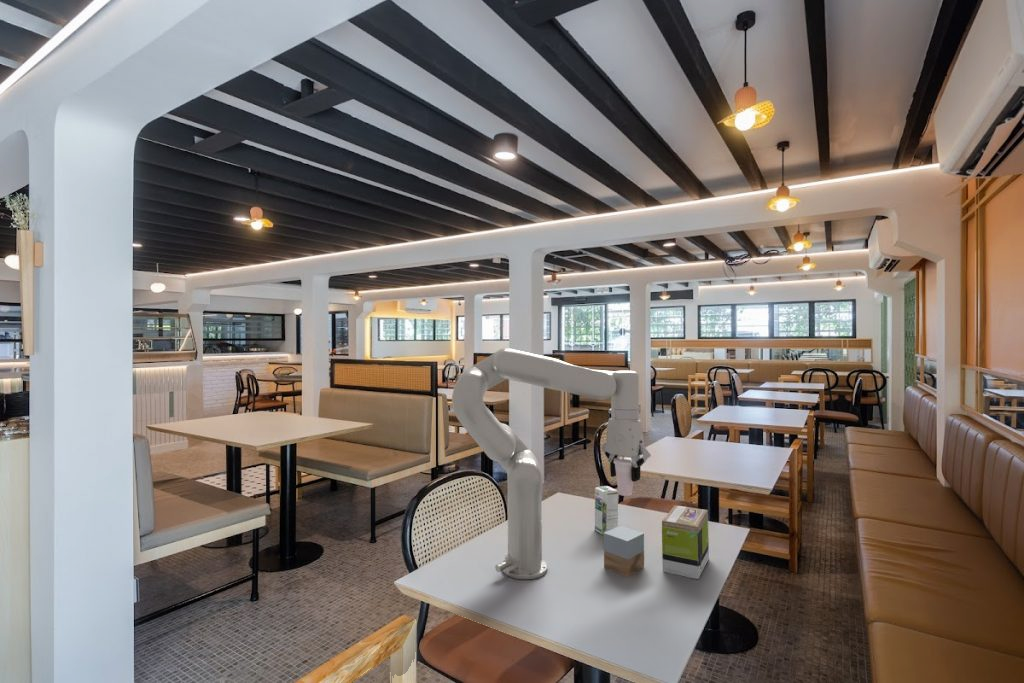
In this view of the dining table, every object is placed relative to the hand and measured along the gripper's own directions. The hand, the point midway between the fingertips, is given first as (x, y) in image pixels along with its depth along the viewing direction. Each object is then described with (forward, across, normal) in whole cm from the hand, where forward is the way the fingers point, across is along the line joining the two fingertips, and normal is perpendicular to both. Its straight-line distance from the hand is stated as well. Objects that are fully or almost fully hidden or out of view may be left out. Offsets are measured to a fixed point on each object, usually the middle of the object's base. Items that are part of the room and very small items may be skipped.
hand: (625, 477), depth 147 cm
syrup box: (+26, -19, +18) cm, 37 cm away
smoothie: (+5, 0, 0) cm, 5 cm away
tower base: (+26, 0, 0) cm, 26 cm away
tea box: (+26, +12, +13) cm, 31 cm away
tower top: (+21, 0, 0) cm, 21 cm away
